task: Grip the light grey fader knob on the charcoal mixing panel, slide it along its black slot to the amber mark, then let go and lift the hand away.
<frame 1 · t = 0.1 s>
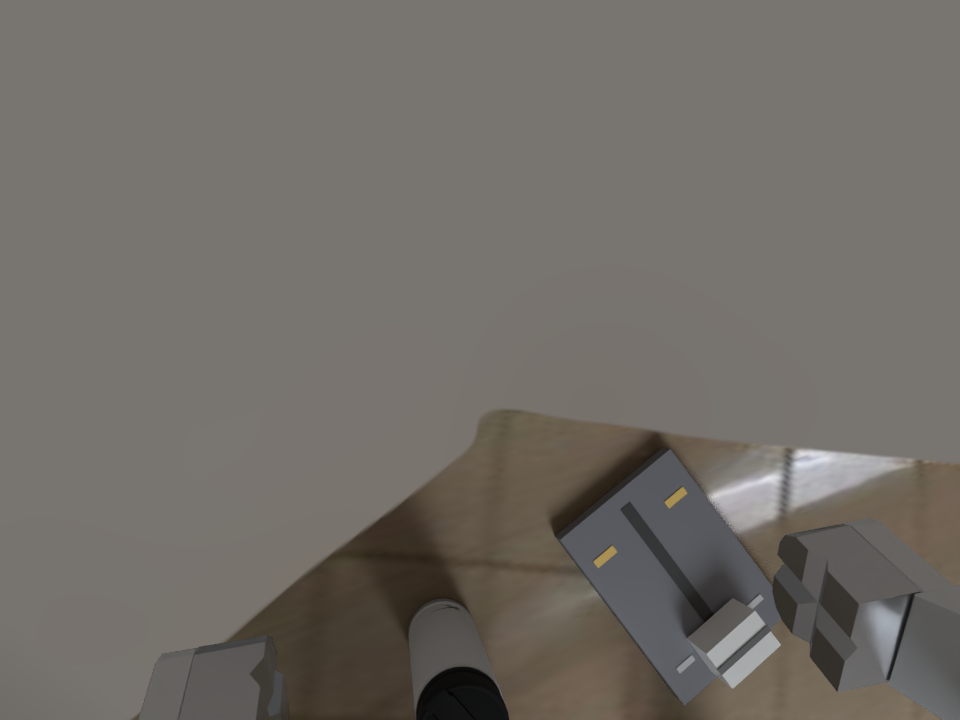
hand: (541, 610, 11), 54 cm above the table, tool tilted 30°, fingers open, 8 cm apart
travel mug: (440, 629, 64), on the table
fader knob: (733, 642, 63), point 4 cm above the table, slide at -7.0 cm
fader panel: (668, 570, 67), on the table
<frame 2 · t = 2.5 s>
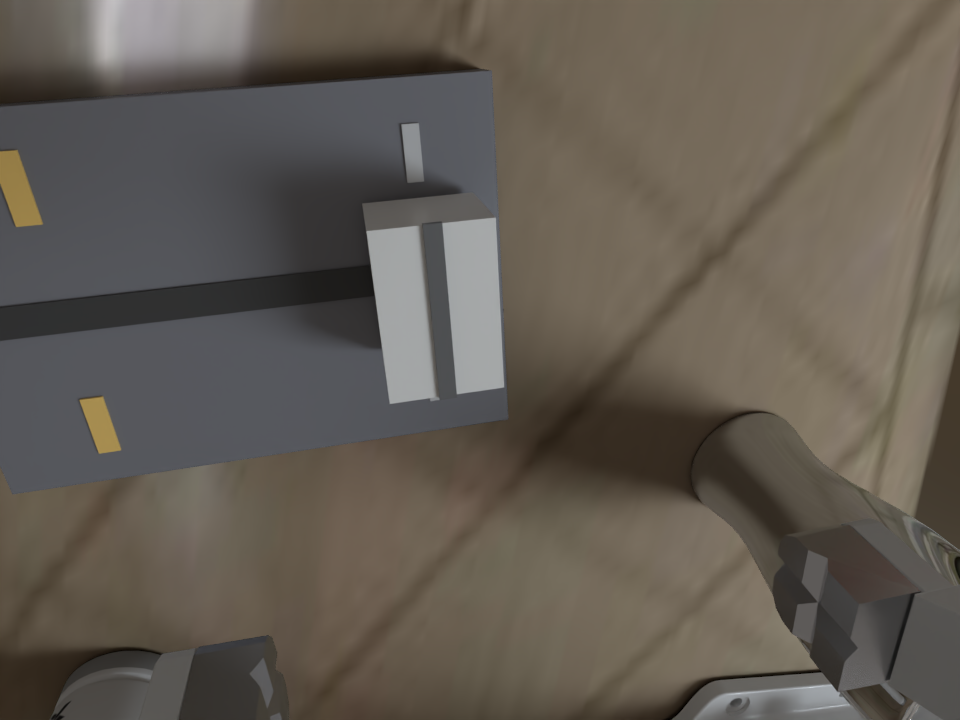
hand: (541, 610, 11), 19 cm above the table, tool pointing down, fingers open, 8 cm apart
travel mug: (130, 690, 34), on the table
fader knob: (432, 295, 24), point 4 cm above the table, slide at -7.0 cm
fader panel: (243, 279, 27), on the table
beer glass: (741, 459, 36), on the table
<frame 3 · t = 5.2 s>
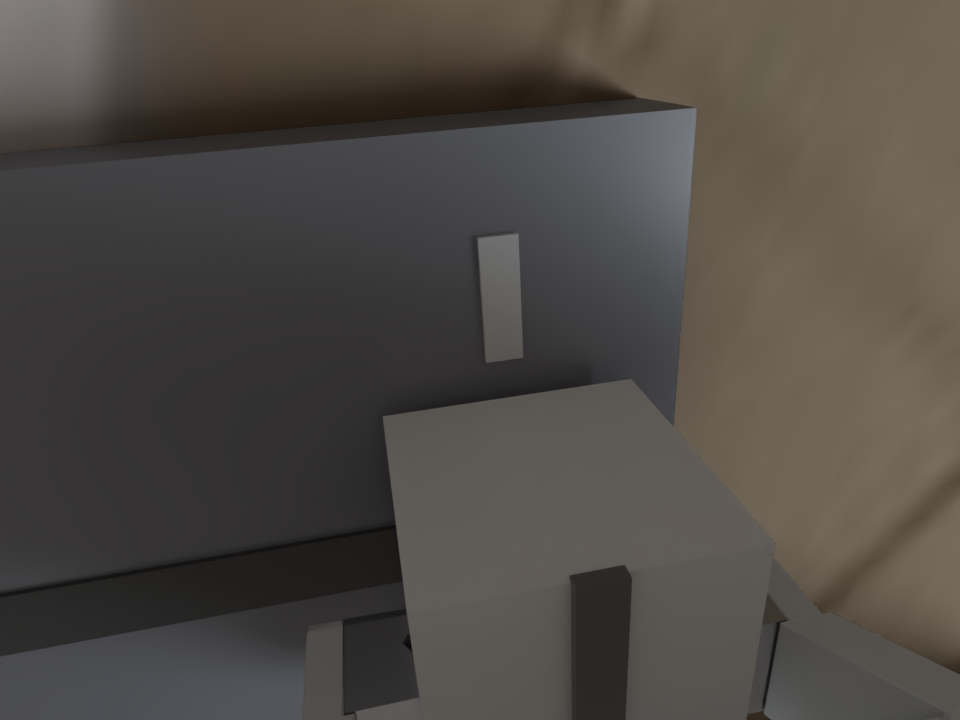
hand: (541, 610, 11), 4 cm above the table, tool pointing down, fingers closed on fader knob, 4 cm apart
fader knob: (551, 638, 10), point 4 cm above the table, slide at -7.0 cm, touching gripper
fader panel: (135, 528, 13), on the table
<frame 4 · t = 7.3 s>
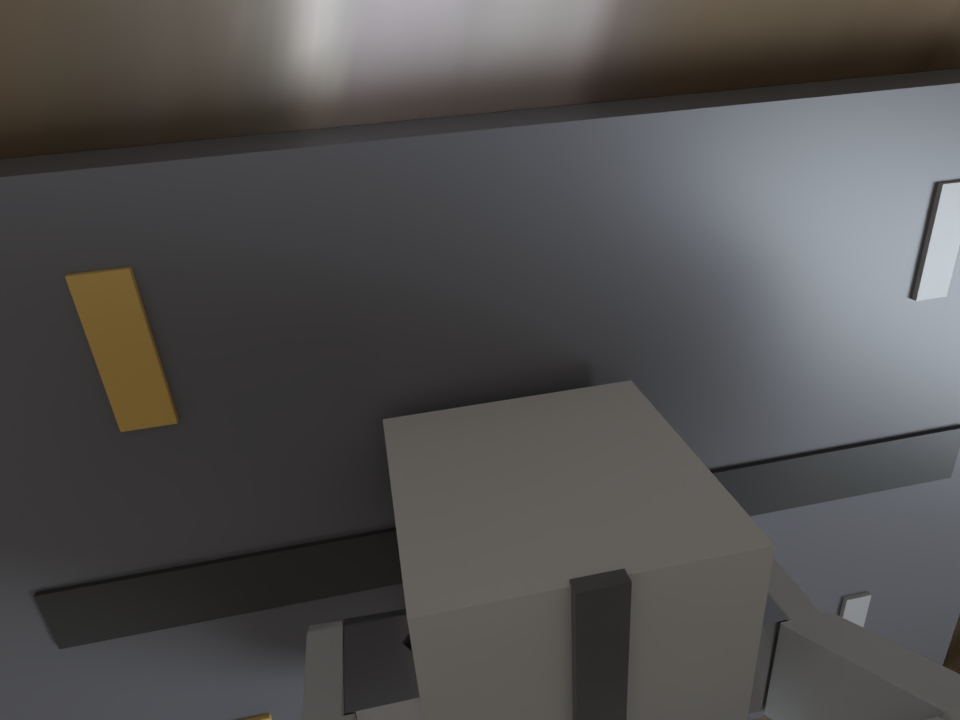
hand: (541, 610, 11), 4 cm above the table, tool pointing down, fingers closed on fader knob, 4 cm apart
fader knob: (552, 640, 10), point 4 cm above the table, slide at 0.6 cm, touching gripper
fader panel: (519, 465, 14), on the table
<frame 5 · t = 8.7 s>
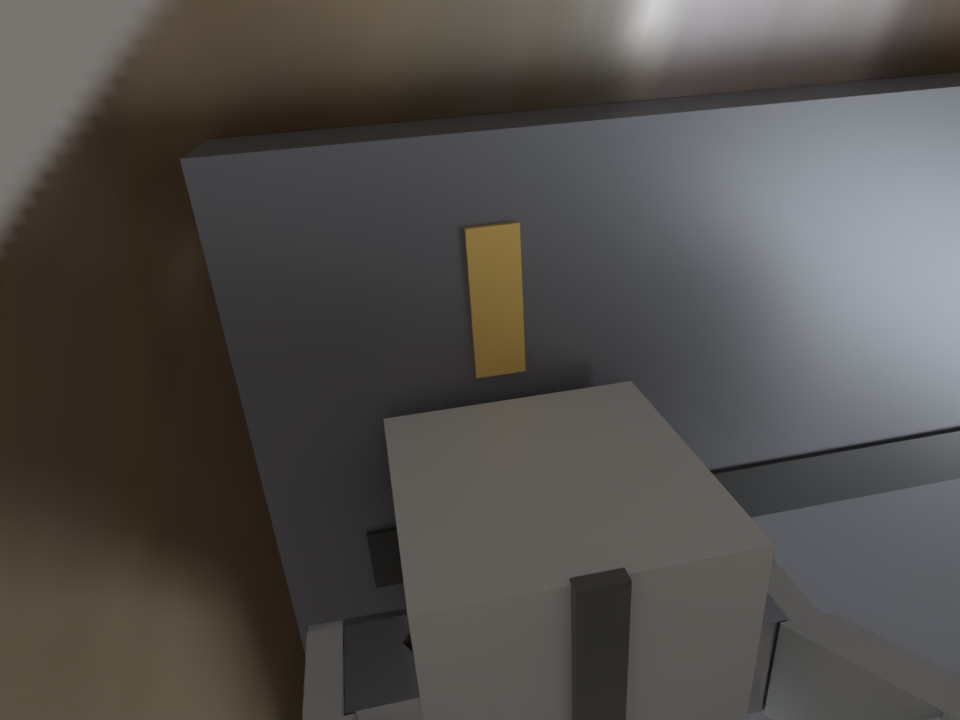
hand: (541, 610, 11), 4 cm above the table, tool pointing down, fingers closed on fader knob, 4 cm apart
fader knob: (551, 640, 10), point 4 cm above the table, slide at 5.9 cm, touching gripper
fader panel: (752, 427, 15), on the table
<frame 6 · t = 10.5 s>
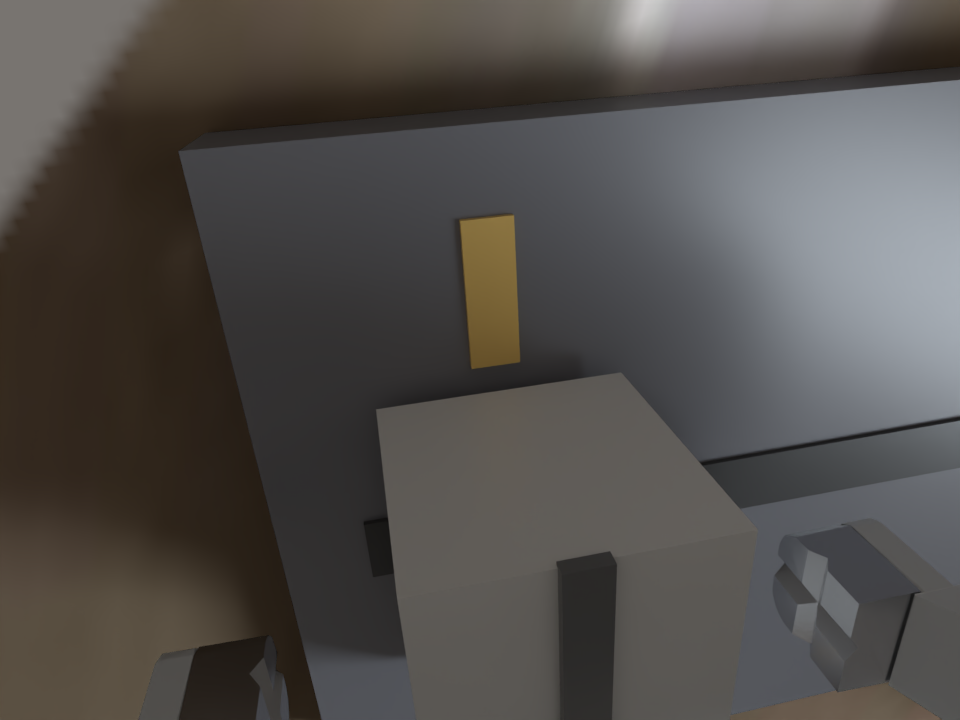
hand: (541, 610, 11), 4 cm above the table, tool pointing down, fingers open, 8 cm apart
fader knob: (542, 627, 10), point 4 cm above the table, slide at 6.0 cm
fader panel: (746, 419, 15), on the table
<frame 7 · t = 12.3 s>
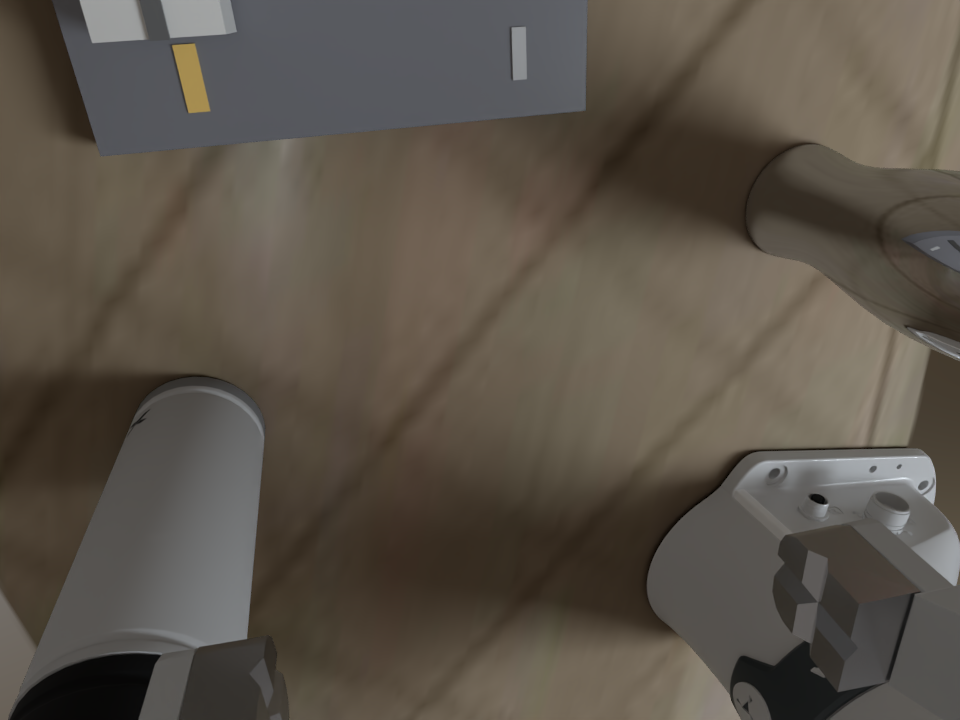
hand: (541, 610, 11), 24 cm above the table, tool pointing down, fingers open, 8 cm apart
travel mug: (198, 427, 35), on the table
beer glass: (792, 200, 37), on the table
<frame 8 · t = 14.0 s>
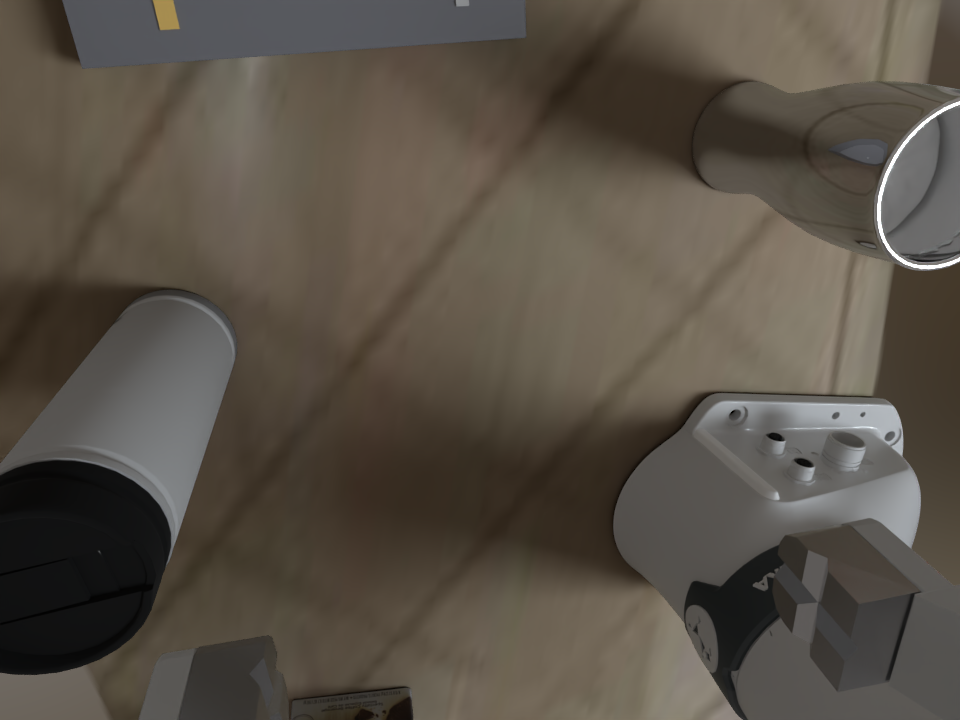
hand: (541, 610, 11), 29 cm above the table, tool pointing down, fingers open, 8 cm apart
travel mug: (176, 340, 37), on the table
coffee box: (352, 717, 52), on the table
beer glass: (738, 138, 39), on the table
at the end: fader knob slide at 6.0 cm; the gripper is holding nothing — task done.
